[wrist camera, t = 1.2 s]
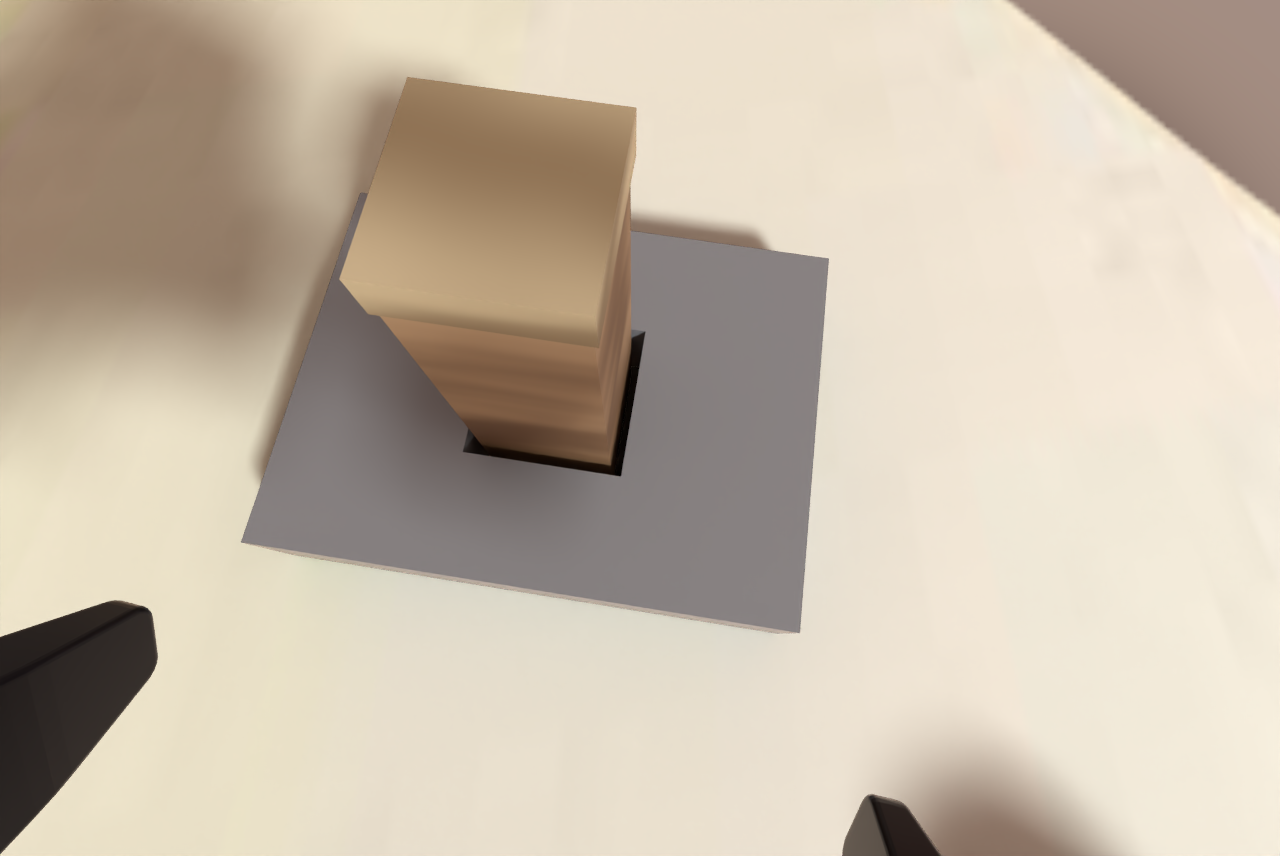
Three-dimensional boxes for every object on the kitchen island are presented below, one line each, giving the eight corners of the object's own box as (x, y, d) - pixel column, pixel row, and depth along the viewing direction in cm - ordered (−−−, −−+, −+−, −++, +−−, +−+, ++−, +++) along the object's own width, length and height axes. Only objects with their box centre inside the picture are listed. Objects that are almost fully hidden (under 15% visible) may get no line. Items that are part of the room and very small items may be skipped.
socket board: (777, 633, 21) (799, 633, 18) (292, 554, 21) (240, 542, 19) (805, 302, 24) (828, 258, 22) (391, 243, 25) (360, 192, 22)
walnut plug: (615, 487, 22) (595, 316, 10) (495, 468, 22) (339, 279, 11) (634, 374, 24) (636, 107, 12) (520, 357, 24) (407, 76, 12)
